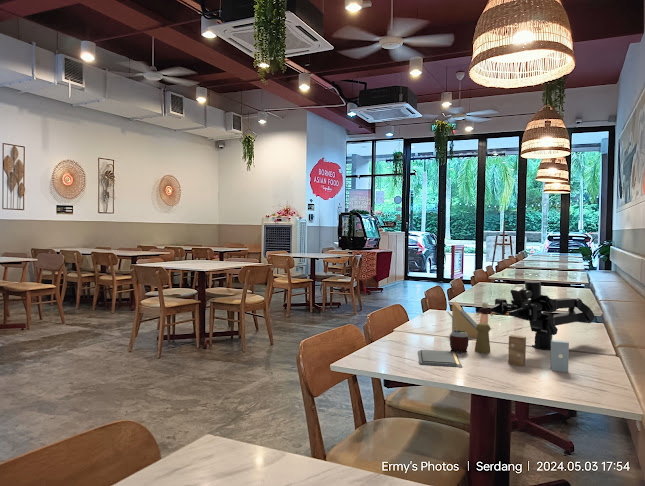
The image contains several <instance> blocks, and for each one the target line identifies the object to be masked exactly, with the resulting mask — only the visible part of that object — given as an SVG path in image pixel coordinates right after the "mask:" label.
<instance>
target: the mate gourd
mask: <svg viewBox="0 0 645 486" xmlns="http://www.w3.org/2000/svg"><path fill="white" fill-rule="evenodd" d="M446 313H447V314H448V315H449V316H450V317H451V321H452V320H453V322H454V326H455V329H456V330H454V331H452V330H451V332H450V335H449V345H450V352H452V353H458V355H461V353H465V354H466V353H468V346H469V342H470V341H469V337H468V335H467V333H466V332H465V331H460V330H457V328H456V324H455V321H454V318H453V316H452V314H451V313H450V312H449V311H447V312H446Z"/></svg>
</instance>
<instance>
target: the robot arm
mask: <svg viewBox="0 0 645 486" xmlns="http://www.w3.org/2000/svg"><path fill="white" fill-rule="evenodd" d="M510 294H511V297H512V299H511V300H510V303H508V301H507V299H505V298H500V297H498V298H495V299H494V306H492V307H490V309H489V310H490V311H491V312H492V313H494V314H496V315H500V316H505V315H507V313H508V315H509V316H511V317H514V318H516V319H517V318H518V319H519V320H520V319H521V320H524V321H529V326H530V330H531V332H535V333H534V334H535V335H534V344H532V345H531V347H533V348H537V349H540V350H544V351H547V350H551V340H553V336H555V335H557V333H558V328H557V326H561V325H566V324H567V325H568V324H572V323H582V324H591V323H593V321H594V320H595V313H594V312H593V310H592V309H591V308H590V307H589V306H588V305H587V304H586V303H584V301H583V300H582V299H581V298H578V297H573V296H571V297H570V296H569V297H565V298H561V297H560V298H550V297H549V296H548V295H546V294H545V295H544V294H542V281H538V280H536V281H535V280H534V281H533V280H525V281H524V287H520V286H515V287H514V288H513V289H511V290H510ZM560 309H568V310H567V311H568V312H564V313H558V314H557V313H556V314H553V313H554V312H556V311H557V310H560ZM508 310H509V312H508Z"/></svg>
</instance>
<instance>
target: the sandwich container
mask: <svg viewBox="0 0 645 486" xmlns="http://www.w3.org/2000/svg"><path fill="white" fill-rule="evenodd" d="M451 308H452V310H451V312H452V314H451V315H452V316H453V318H454V321H455V324H456V328H457V330H460V331H465V332H466V333H467V335H468V338H475V339H477V333H478V331H477V329H476V326H477V324H478V323H476V321H475V320H474V319H473V318H472V317H471V316H470V315H469V314H468V313H467V312H466V311H465V309H464V308H463V307H461V305H460V304H459V303H458V302H457V301H456V300H455V301H453V302H452V307H451ZM454 330H456V329H455V326H454V322H453V320H452V319H451V332H452V331H454Z"/></svg>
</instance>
